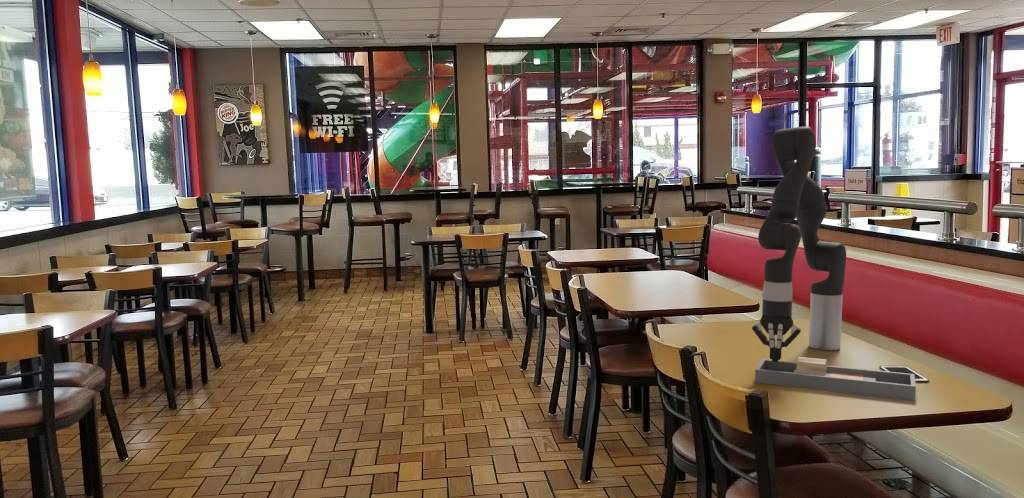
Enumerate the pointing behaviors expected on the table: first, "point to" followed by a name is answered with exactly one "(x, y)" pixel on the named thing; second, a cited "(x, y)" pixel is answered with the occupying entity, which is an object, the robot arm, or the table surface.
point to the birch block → (811, 366)
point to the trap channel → (839, 380)
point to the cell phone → (905, 369)
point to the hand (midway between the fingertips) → (775, 360)
